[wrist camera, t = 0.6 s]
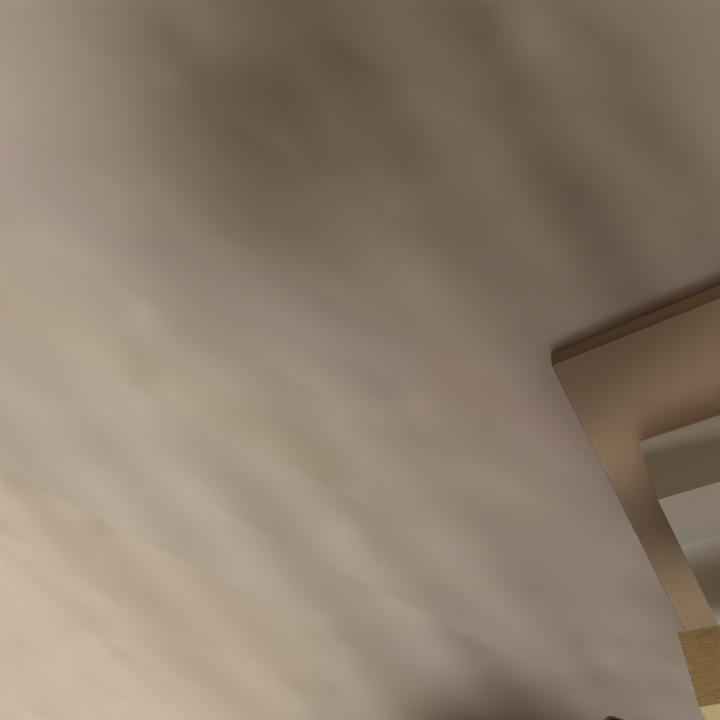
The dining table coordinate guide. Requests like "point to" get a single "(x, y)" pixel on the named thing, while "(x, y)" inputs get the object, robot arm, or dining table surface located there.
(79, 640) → the dining table surface
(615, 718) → the robot arm
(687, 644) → the gold rectangular bar
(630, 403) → the board
